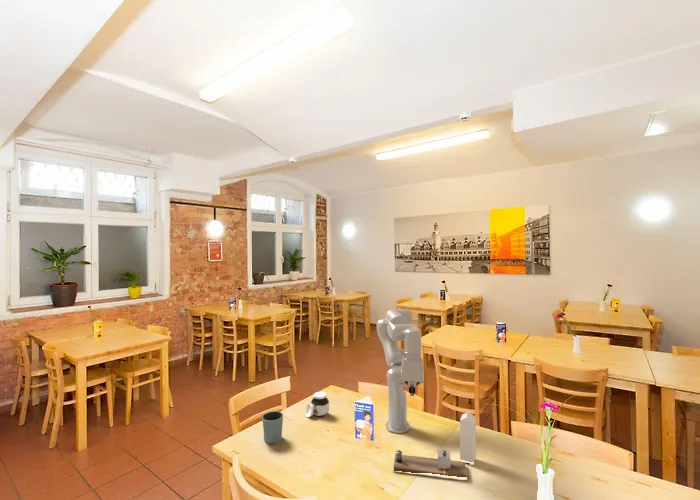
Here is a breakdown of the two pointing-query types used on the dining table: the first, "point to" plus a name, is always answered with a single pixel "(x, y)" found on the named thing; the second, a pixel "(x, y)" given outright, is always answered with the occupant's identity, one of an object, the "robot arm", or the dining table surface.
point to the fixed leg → (399, 456)
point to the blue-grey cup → (272, 426)
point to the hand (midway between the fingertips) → (412, 394)
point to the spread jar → (318, 405)
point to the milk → (468, 437)
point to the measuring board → (429, 466)
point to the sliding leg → (443, 459)
